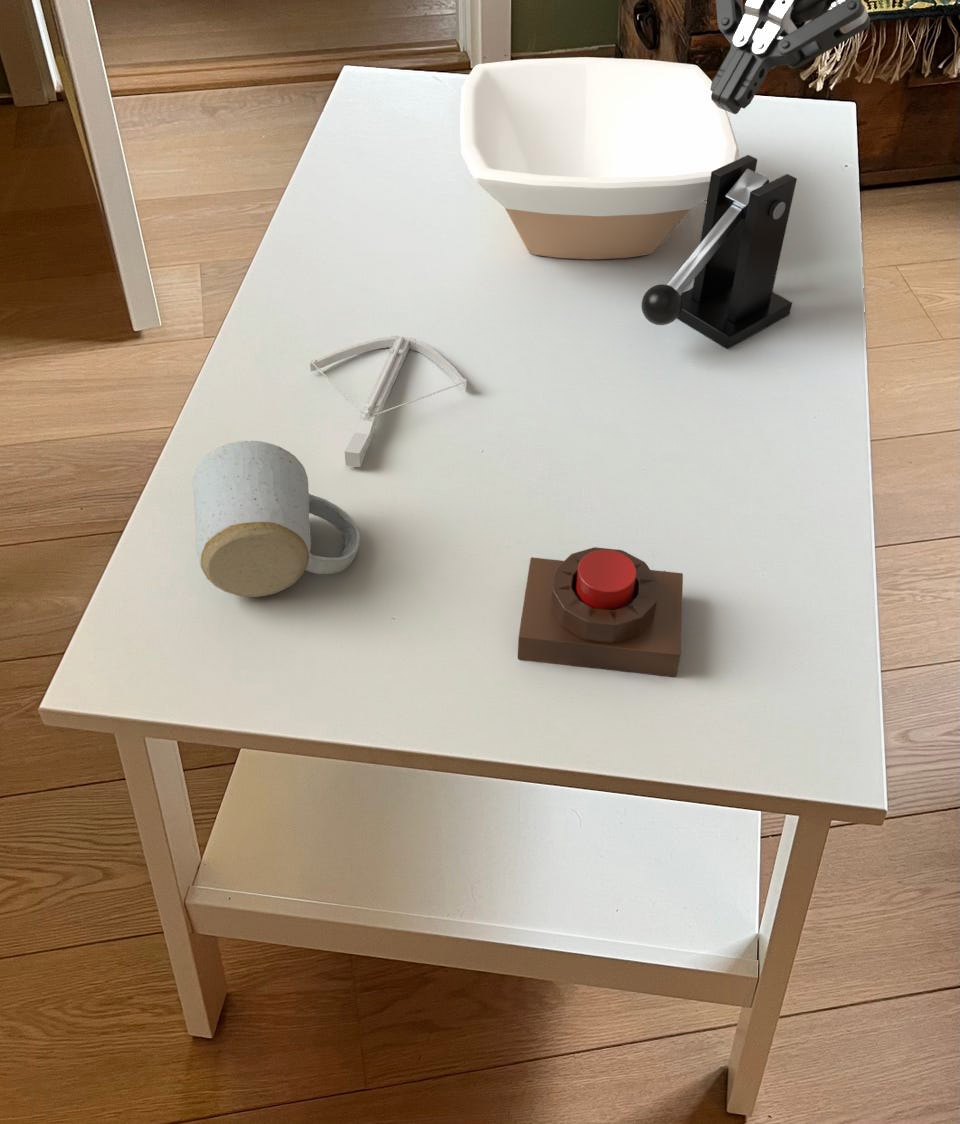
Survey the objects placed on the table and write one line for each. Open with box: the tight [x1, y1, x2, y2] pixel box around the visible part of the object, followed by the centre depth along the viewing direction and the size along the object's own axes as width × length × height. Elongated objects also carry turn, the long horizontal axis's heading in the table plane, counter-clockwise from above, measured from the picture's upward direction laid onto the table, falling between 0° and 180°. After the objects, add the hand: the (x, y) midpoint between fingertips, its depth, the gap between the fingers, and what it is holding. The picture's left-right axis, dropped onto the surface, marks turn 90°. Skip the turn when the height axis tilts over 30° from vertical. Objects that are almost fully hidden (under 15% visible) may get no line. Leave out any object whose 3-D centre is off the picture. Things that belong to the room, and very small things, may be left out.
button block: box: [517, 546, 684, 678], centre depth 75 cm, size 10×7×4 cm
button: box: [576, 550, 636, 610], centre depth 74 cm, size 4×4×2 cm
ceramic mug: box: [192, 440, 361, 598], centre depth 78 cm, size 11×8×8 cm
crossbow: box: [309, 335, 468, 468], centre depth 92 cm, size 16×13×2 cm
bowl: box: [459, 56, 740, 260], centre depth 108 cm, size 24×25×11 cm
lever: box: [640, 169, 770, 326], centre depth 94 cm, size 14×3×3 cm
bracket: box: [676, 154, 798, 350], centre depth 97 cm, size 8×7×13 cm
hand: (723, 106), depth 85 cm, fingers closed
